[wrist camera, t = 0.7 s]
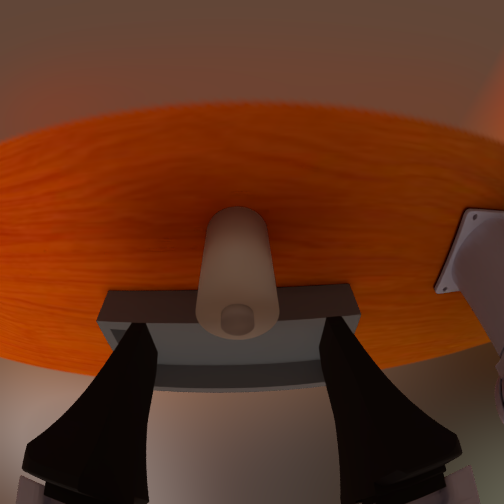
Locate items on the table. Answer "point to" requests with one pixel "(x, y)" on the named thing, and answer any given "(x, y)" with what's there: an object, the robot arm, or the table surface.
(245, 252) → the cell
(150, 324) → the trough
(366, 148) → the table surface
